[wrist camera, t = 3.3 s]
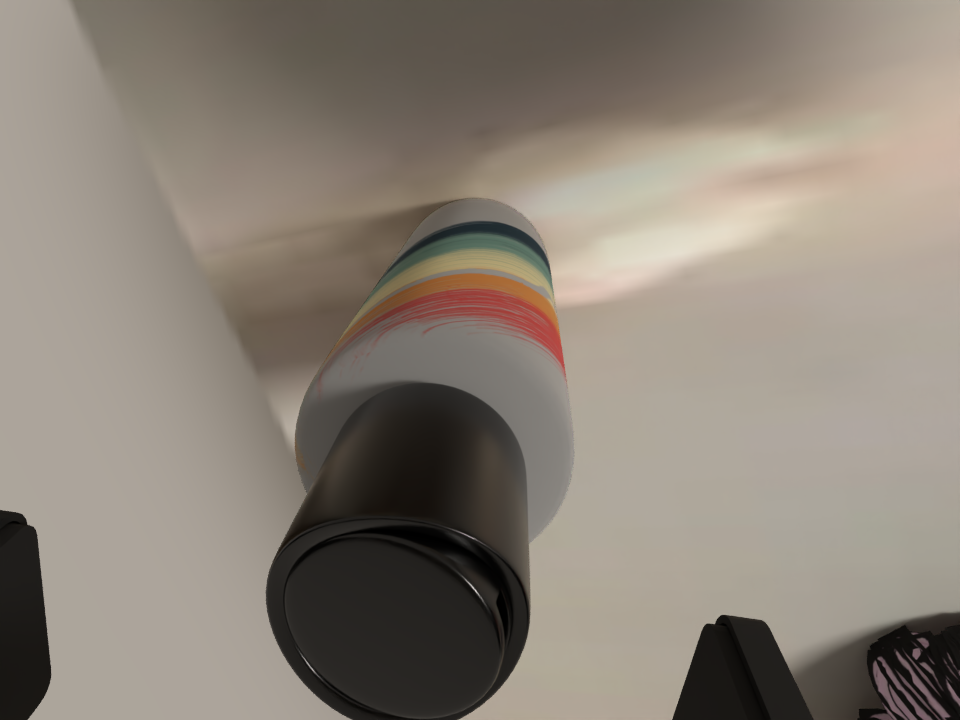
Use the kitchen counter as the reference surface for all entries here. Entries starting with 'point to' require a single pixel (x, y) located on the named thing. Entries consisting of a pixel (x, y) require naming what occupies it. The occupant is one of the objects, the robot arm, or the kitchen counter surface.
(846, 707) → the kitchen counter surface
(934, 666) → the decorative flower
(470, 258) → the lotion bottle
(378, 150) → the kitchen counter surface
